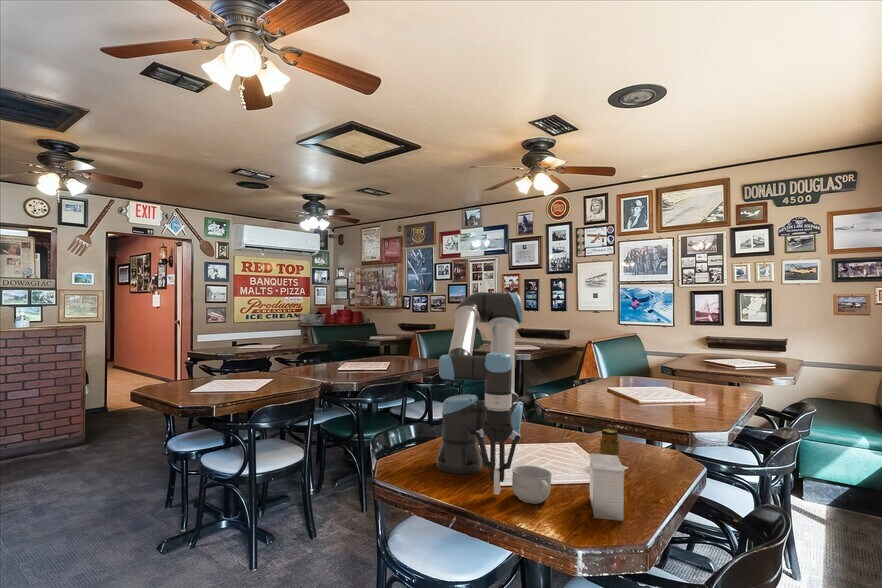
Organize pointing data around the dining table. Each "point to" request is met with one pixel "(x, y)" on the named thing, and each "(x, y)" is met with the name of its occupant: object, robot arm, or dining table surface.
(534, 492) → the teacup
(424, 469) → the dining table surface
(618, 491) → the napkin dispenser
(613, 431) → the condiment
